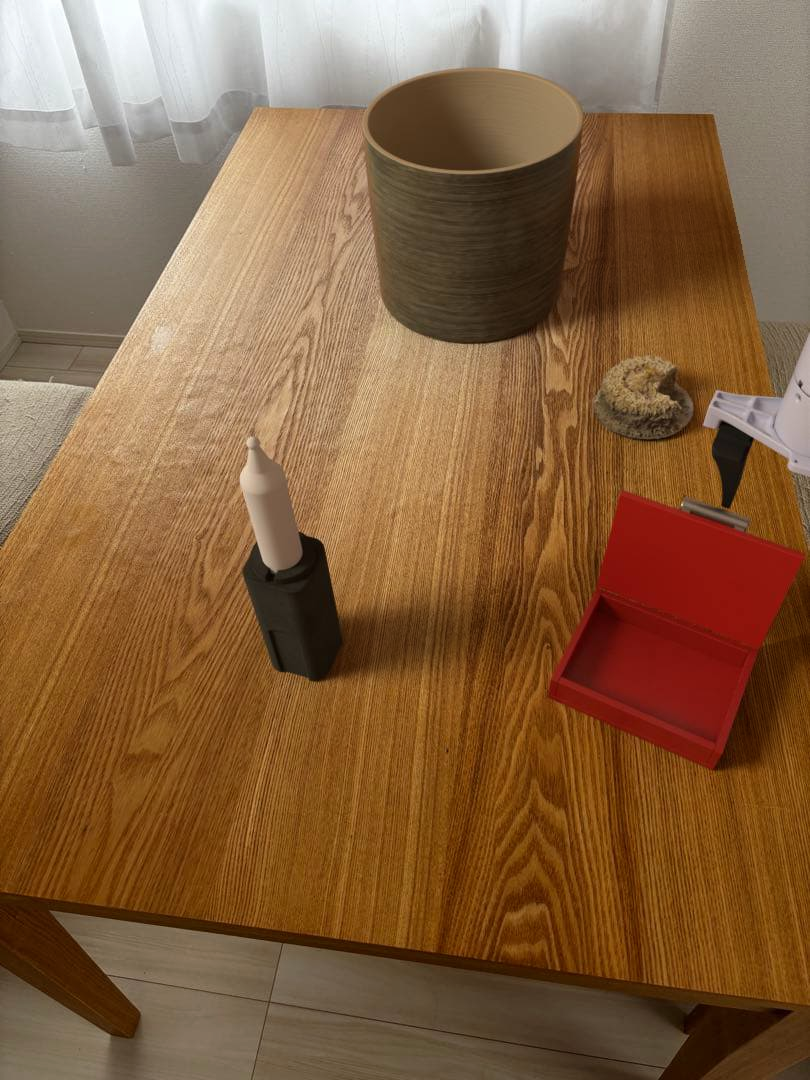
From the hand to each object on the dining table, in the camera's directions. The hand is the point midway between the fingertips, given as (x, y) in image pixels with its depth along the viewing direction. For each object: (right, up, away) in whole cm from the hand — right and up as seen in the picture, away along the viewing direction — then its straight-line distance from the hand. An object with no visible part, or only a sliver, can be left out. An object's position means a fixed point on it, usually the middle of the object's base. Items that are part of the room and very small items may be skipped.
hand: (778, 515), depth 66 cm
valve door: (-7, -4, -1) cm, 8 cm away
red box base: (-9, -13, +3) cm, 16 cm away
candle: (-37, -11, +6) cm, 39 cm away
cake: (-4, +11, +22) cm, 25 cm away
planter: (-21, +28, +36) cm, 50 cm away
